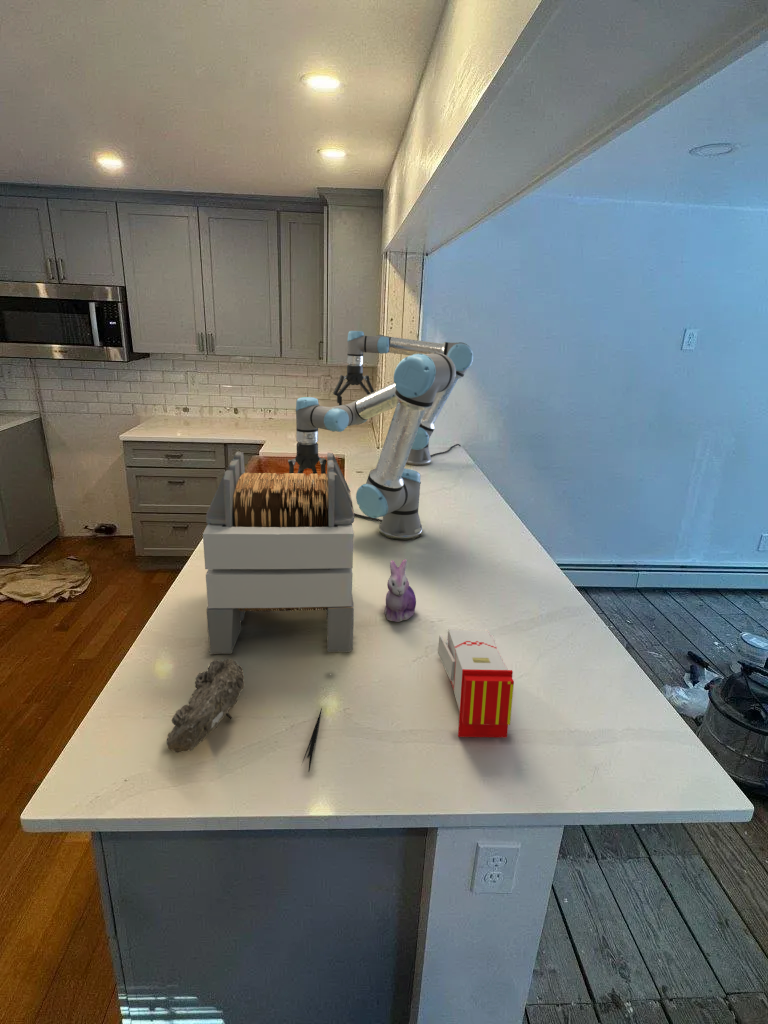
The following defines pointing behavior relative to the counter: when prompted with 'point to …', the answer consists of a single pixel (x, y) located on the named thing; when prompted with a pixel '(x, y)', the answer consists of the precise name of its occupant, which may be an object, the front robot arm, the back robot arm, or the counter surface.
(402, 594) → the figurine
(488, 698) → the toy
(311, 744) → the feather
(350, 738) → the counter surface
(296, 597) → the record crate
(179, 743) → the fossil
